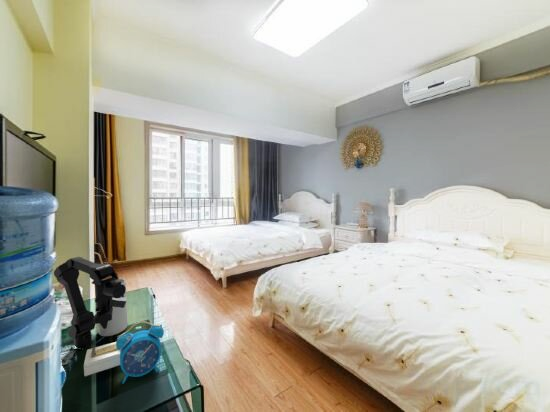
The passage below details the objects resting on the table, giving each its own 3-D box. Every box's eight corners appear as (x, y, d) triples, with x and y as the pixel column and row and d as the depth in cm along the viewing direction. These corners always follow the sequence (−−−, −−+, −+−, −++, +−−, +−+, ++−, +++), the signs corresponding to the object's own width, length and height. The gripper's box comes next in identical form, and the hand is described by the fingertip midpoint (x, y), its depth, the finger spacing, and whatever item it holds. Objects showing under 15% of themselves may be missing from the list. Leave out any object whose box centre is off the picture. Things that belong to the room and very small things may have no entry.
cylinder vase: (132, 323, 131) (131, 279, 129) (115, 337, 119) (113, 288, 117) (111, 322, 132) (109, 278, 131) (92, 336, 120) (89, 287, 118)
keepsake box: (129, 348, 111) (128, 334, 111) (129, 361, 102) (128, 347, 102) (87, 360, 103) (86, 346, 102) (84, 376, 94) (83, 360, 94)
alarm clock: (116, 390, 88) (114, 338, 86) (118, 372, 97) (115, 324, 95) (166, 373, 96) (165, 325, 95) (163, 357, 105) (162, 313, 104)
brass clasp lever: (123, 343, 106) (123, 341, 106) (123, 347, 104) (123, 345, 104) (96, 351, 101) (96, 349, 101) (95, 356, 99) (95, 353, 99)
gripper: (125, 297, 102) (126, 333, 103) (125, 283, 117) (126, 313, 118) (92, 304, 96) (94, 342, 97) (96, 288, 111) (98, 320, 113)
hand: (105, 328), depth 106 cm, fingers closed
